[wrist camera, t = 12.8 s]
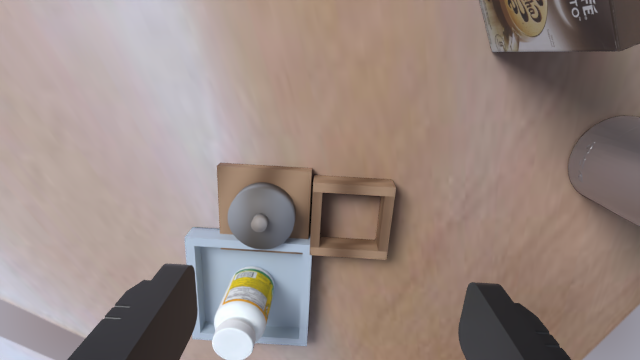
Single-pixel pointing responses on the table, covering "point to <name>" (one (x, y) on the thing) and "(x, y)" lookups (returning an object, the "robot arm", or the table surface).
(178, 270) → the robot arm
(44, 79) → the table surface
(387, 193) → the block
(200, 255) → the tray
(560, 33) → the coffee box
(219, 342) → the supplement bottle
